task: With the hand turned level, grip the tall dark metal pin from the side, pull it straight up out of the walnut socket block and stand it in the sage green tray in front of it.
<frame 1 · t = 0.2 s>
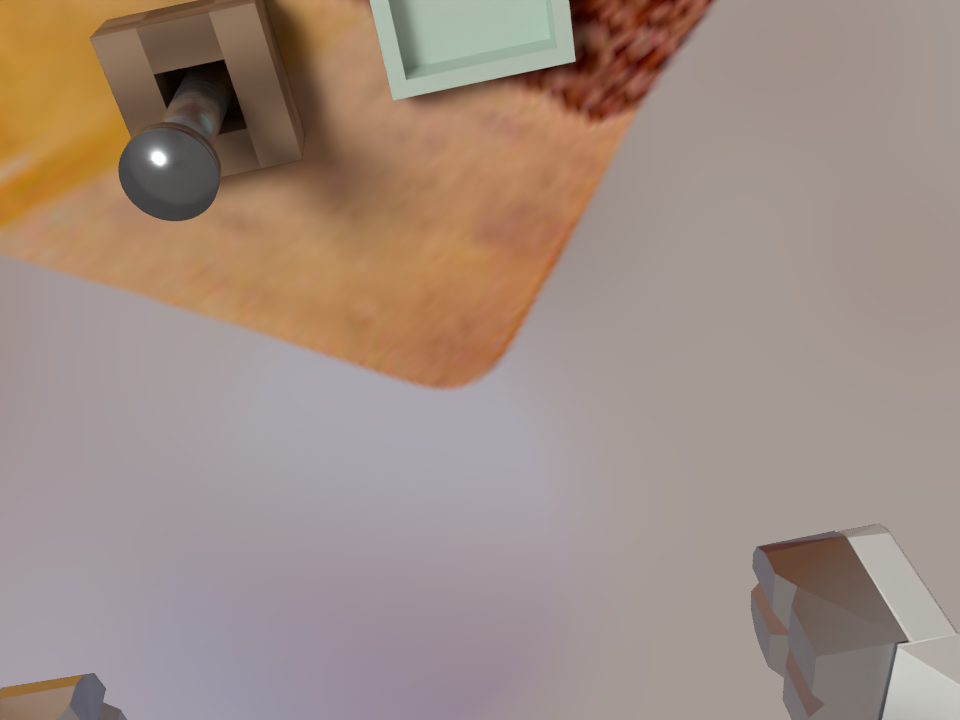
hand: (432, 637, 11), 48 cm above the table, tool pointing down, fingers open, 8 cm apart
socket block: (210, 81, 53), on the table
pin: (192, 122, 47), in the socket block
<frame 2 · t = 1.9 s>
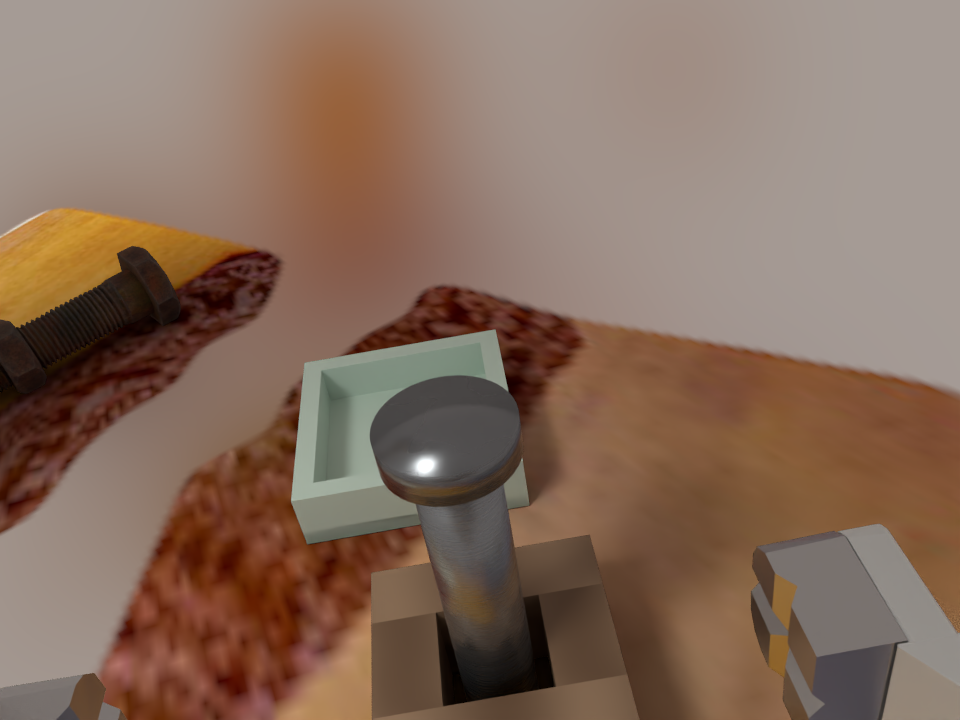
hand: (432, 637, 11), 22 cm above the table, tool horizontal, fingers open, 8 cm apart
tray: (413, 449, 48), on the table
socket block: (506, 708, 35), on the table
bolt: (73, 363, 60), on the table
pin: (479, 586, 30), in the socket block
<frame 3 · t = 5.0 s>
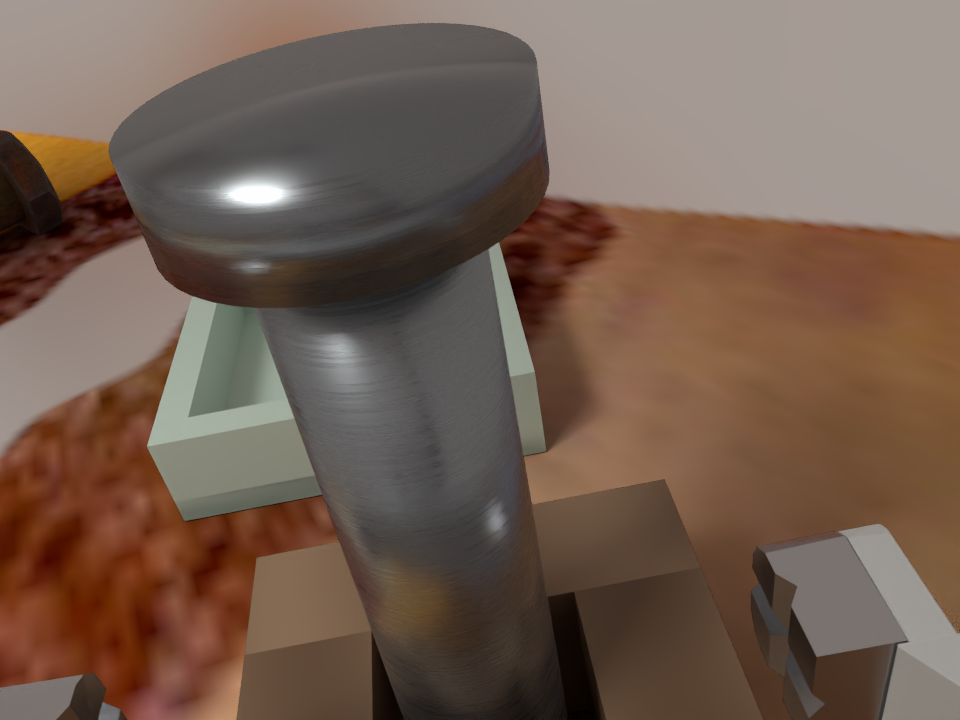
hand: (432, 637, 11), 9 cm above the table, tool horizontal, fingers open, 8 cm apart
tray: (364, 377, 31), on the table
pin: (450, 571, 13), in the socket block
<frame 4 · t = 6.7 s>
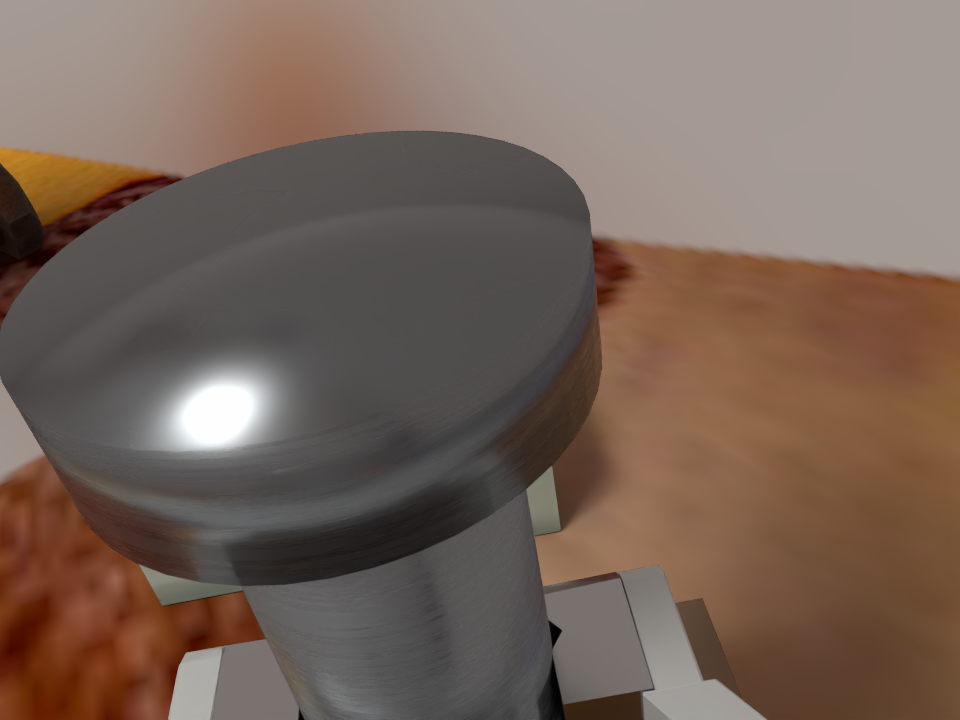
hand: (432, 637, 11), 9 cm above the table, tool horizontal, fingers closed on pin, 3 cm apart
tray: (361, 437, 28), on the table
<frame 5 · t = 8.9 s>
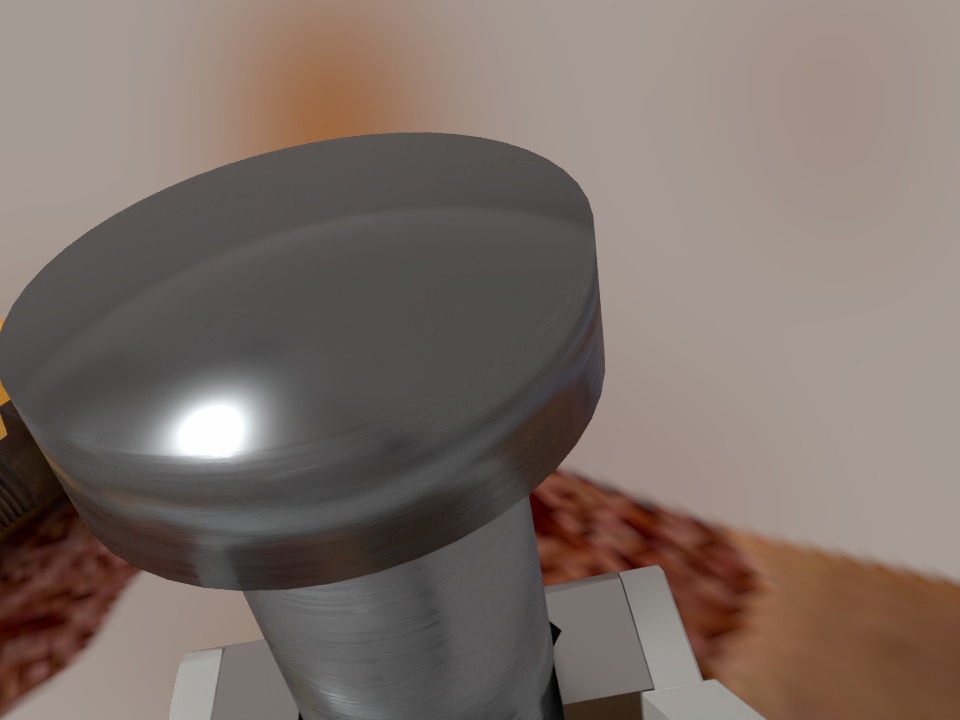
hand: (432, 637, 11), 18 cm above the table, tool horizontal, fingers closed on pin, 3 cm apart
when the fingers open (11 cm above the table, at t = 11.3 s): pin drops 1 cm, resting on tray.
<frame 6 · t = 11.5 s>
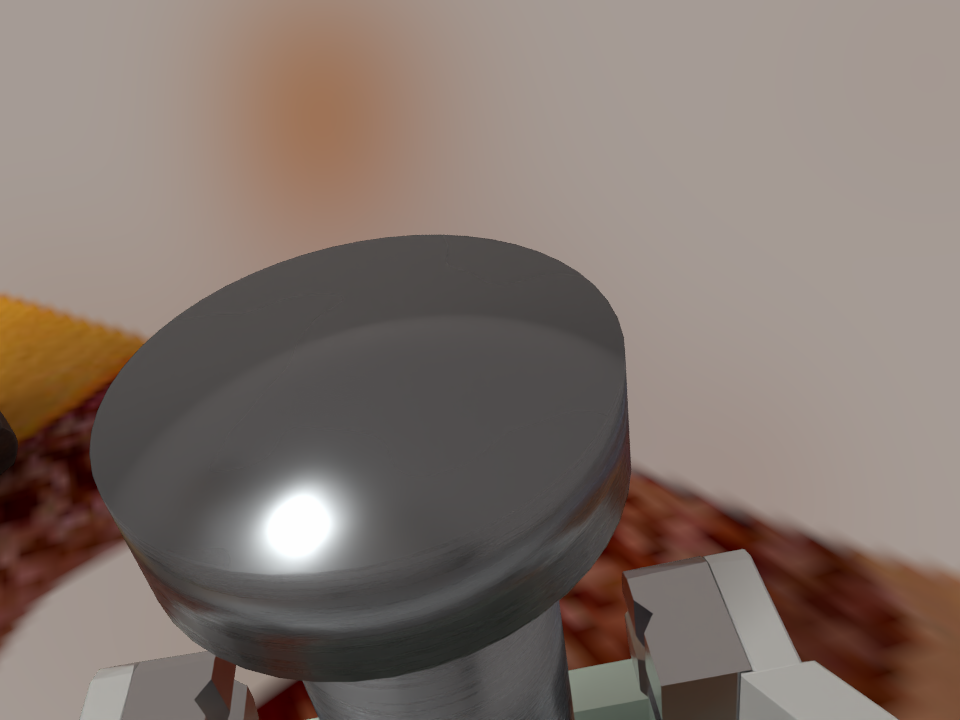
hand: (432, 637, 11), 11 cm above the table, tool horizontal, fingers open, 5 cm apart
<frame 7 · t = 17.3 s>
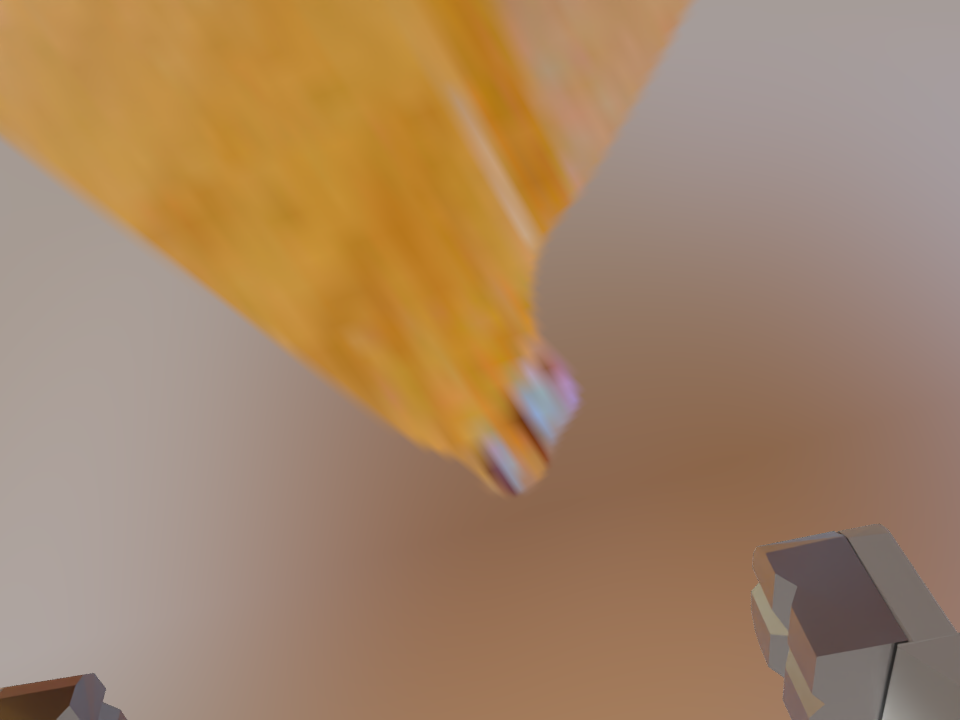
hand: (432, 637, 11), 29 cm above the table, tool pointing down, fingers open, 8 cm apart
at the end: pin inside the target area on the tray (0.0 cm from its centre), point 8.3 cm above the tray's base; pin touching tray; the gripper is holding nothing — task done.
